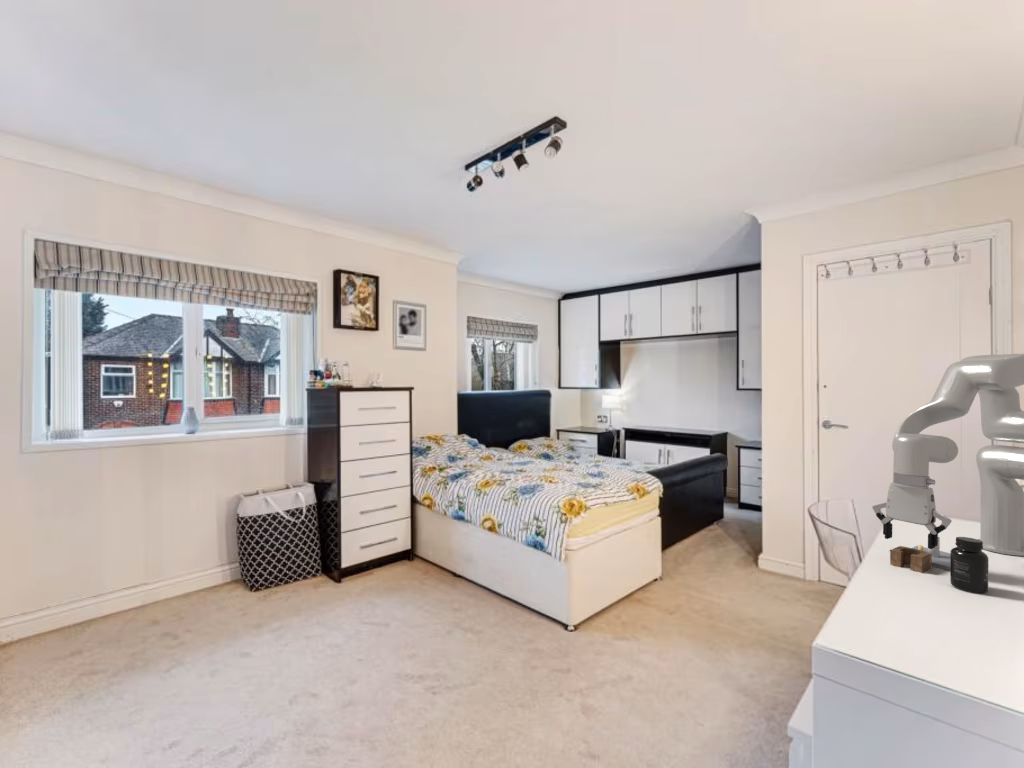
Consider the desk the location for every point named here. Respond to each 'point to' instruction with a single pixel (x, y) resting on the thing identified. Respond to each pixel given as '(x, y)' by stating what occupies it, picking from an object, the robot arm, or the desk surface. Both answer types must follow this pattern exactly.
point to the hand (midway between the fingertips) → (909, 542)
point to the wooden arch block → (911, 558)
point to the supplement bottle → (969, 566)
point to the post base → (940, 560)
